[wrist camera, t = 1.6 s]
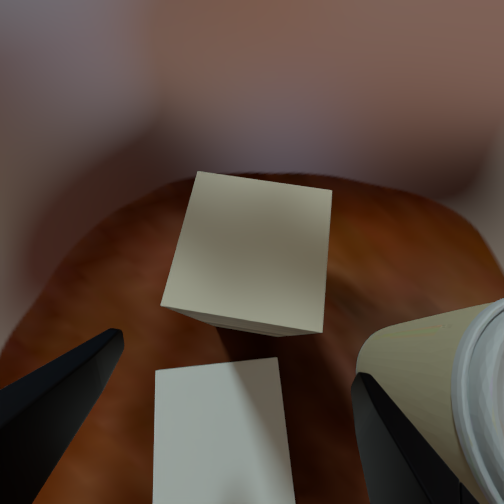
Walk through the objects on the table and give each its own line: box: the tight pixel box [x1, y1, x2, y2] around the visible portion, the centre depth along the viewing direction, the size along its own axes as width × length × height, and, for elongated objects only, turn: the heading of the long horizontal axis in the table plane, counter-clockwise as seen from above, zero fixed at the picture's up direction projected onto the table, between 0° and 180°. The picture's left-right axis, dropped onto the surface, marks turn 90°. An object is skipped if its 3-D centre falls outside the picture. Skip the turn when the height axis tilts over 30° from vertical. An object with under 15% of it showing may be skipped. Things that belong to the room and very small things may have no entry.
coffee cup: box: [356, 298, 504, 504], centre depth 13 cm, size 9×9×12 cm
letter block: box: [161, 171, 332, 337], centre depth 15 cm, size 5×5×13 cm
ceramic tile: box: [153, 357, 295, 504], centre depth 18 cm, size 9×9×1 cm
